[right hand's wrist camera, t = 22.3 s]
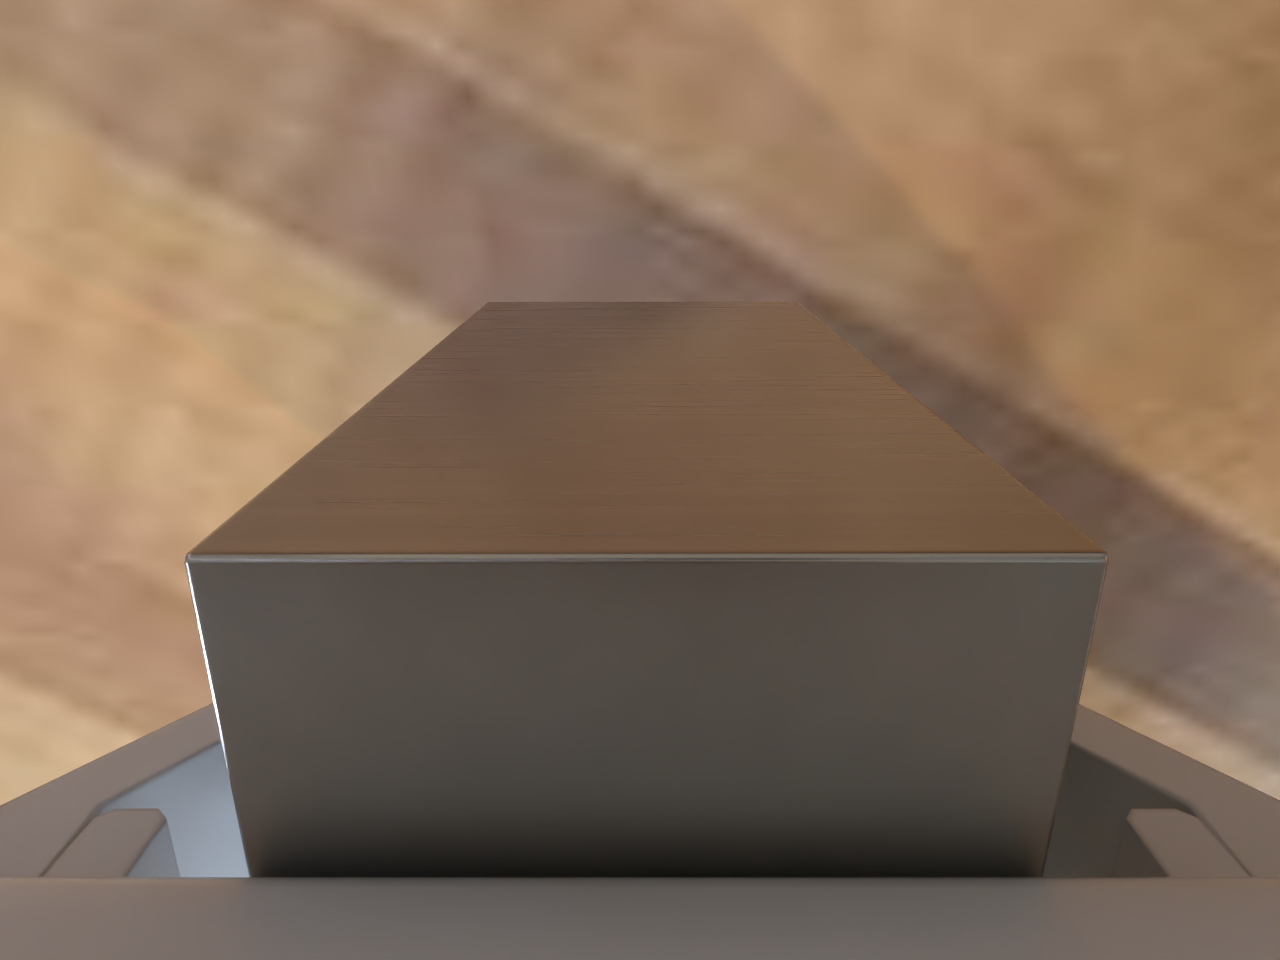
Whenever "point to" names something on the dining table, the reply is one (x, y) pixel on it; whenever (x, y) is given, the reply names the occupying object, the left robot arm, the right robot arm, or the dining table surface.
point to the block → (645, 617)
